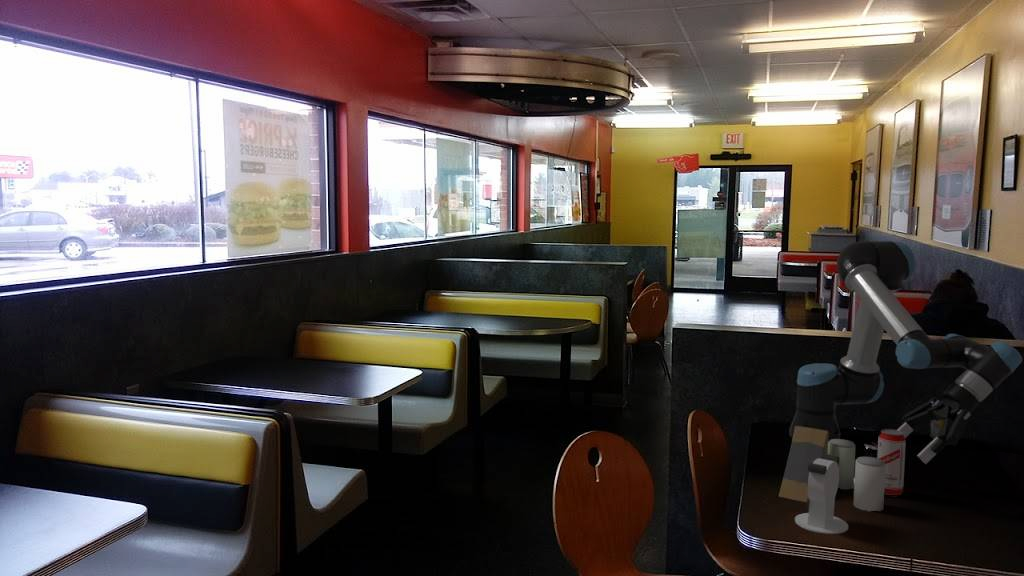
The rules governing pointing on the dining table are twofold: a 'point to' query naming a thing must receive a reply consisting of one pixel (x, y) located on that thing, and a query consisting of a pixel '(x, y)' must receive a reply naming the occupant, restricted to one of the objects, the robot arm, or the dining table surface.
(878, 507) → the off-white tin
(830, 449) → the sage tin
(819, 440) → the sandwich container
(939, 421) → the crayon box
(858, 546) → the dining table surface
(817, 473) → the white post on disc
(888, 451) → the beer can
